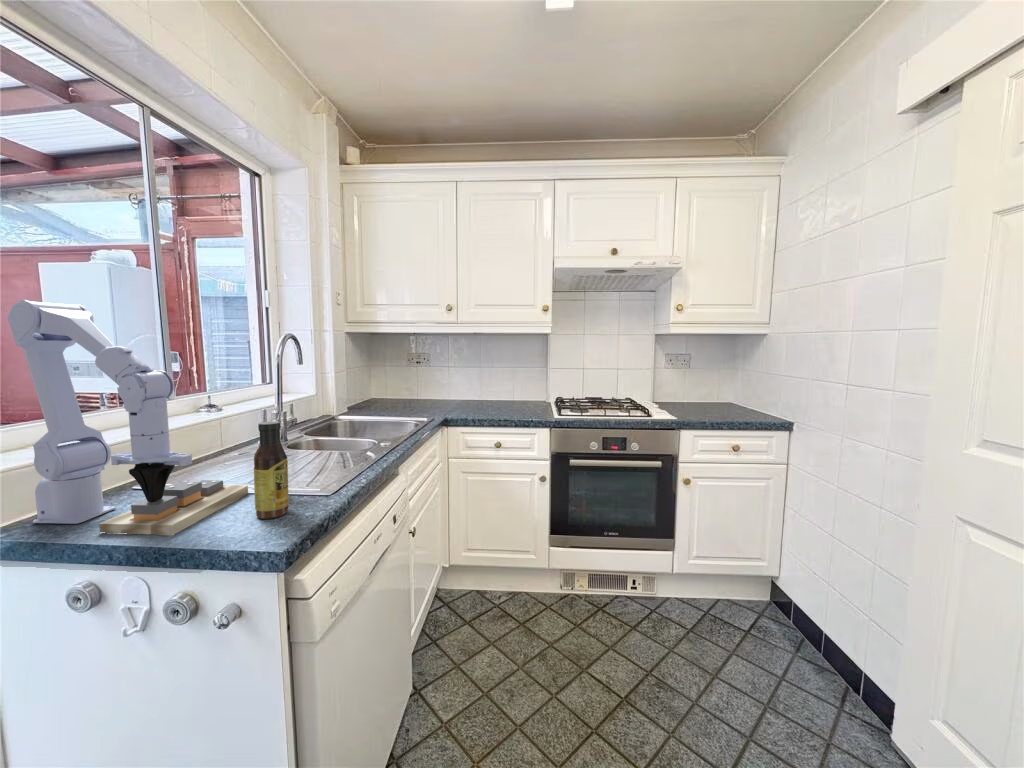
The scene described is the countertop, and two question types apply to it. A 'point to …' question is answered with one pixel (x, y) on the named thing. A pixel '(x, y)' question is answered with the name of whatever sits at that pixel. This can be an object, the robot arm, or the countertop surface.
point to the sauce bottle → (270, 473)
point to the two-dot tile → (184, 492)
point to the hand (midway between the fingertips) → (155, 499)
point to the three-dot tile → (211, 487)
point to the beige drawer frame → (175, 514)
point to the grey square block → (154, 509)
